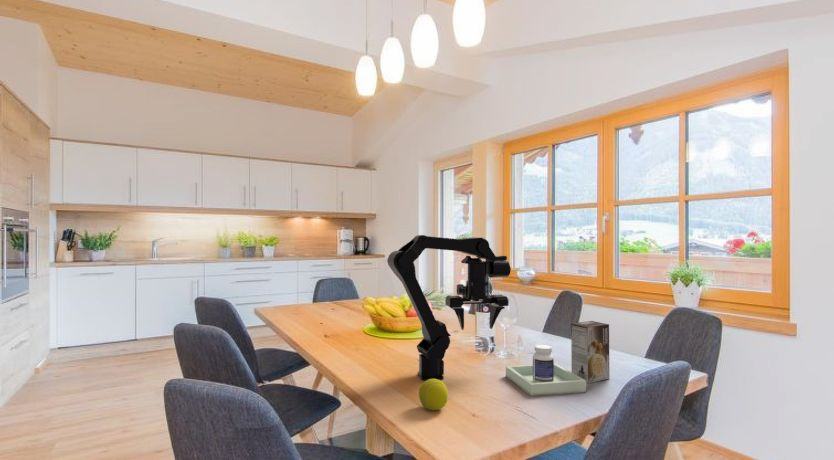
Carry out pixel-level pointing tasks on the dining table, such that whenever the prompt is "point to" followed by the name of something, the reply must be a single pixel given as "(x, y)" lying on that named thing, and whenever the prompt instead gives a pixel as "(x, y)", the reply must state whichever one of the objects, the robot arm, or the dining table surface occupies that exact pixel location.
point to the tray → (561, 384)
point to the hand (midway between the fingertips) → (476, 329)
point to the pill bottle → (543, 364)
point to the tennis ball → (433, 394)
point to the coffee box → (590, 350)
